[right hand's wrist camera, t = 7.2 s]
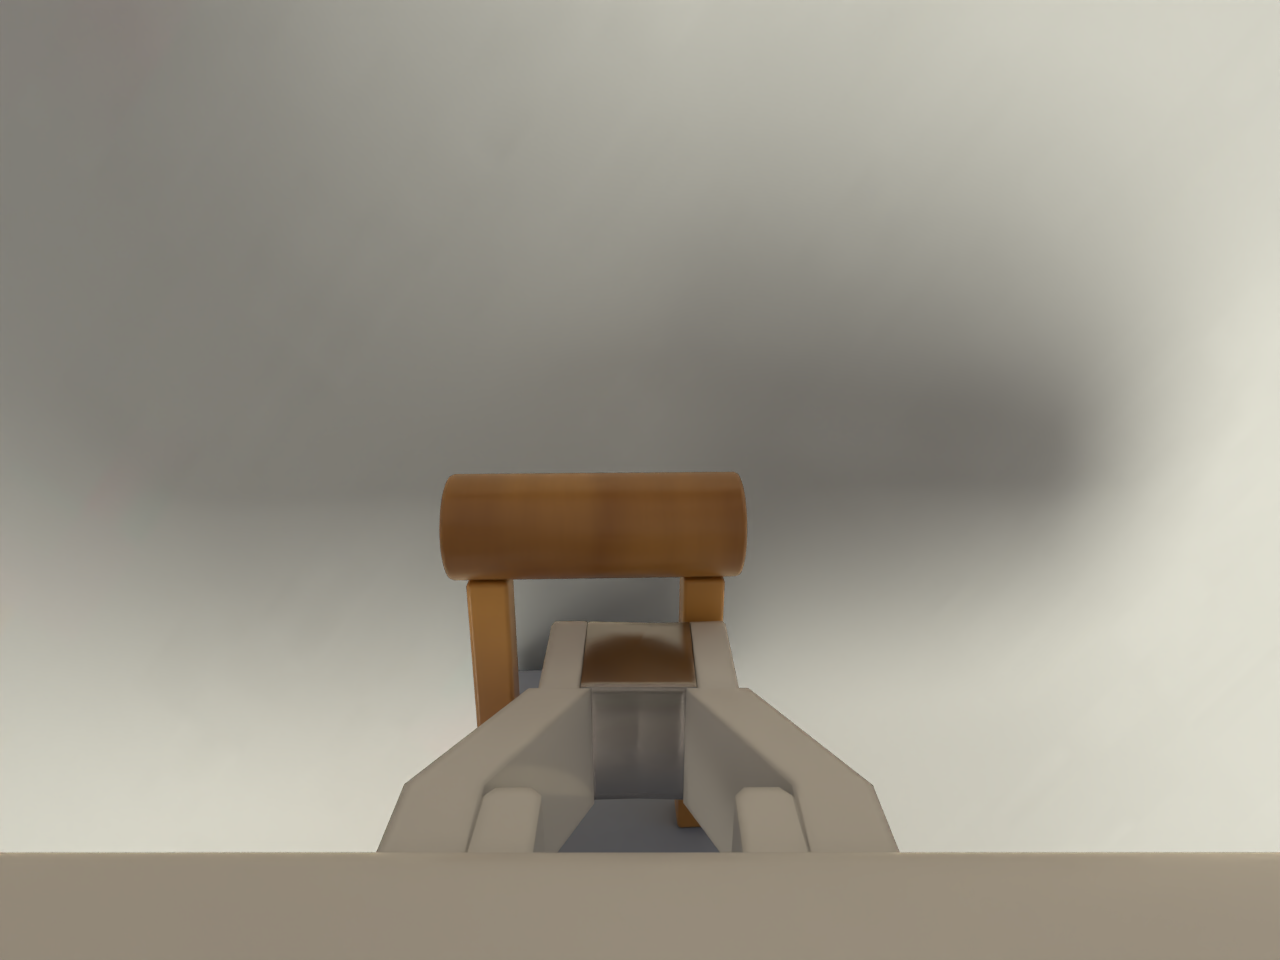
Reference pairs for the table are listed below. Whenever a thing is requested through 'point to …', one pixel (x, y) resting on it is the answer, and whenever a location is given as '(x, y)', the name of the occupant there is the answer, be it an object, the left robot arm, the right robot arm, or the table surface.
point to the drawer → (590, 548)
